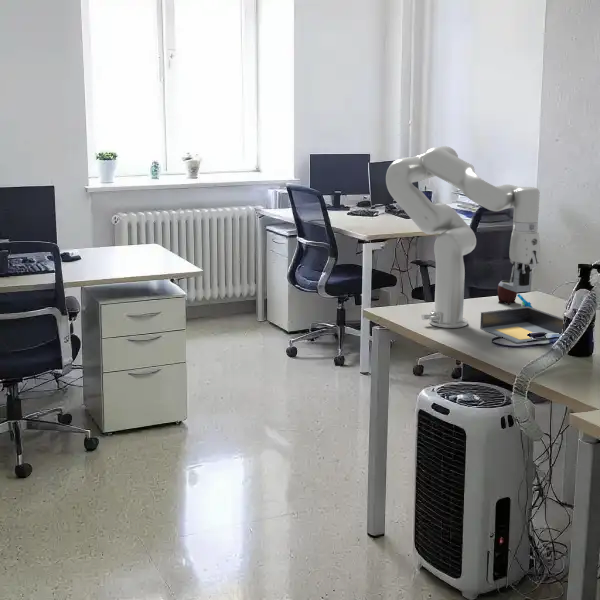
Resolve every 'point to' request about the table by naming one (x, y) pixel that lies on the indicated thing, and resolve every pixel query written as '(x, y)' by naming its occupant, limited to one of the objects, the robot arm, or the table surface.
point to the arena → (520, 323)
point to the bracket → (517, 283)
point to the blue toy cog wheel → (524, 302)
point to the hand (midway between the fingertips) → (522, 284)
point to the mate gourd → (506, 292)
